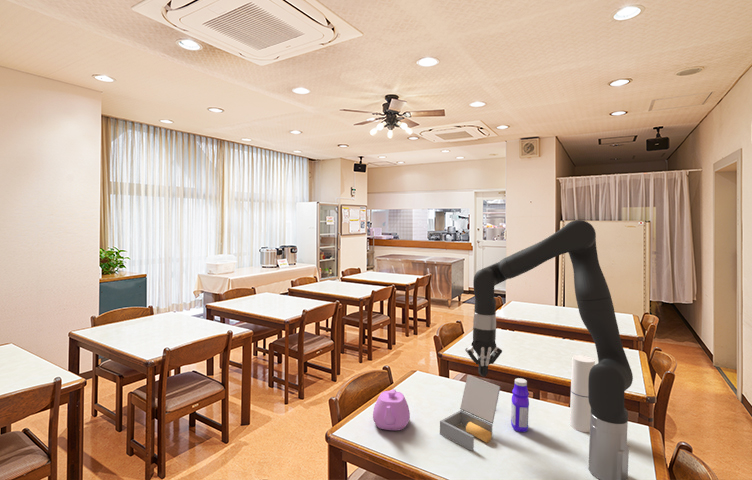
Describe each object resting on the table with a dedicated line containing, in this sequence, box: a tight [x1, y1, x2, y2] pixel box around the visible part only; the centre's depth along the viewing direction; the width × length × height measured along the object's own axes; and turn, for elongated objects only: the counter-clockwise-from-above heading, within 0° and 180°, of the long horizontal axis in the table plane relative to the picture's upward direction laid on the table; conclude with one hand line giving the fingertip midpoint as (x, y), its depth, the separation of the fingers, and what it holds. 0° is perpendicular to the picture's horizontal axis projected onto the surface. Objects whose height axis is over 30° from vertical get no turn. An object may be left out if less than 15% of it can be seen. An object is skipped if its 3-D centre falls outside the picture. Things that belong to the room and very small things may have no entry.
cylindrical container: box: [569, 354, 596, 433], centre depth 135 cm, size 7×7×25 cm
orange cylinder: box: [465, 422, 493, 444], centre depth 128 cm, size 8×4×4 cm
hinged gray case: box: [439, 409, 493, 452], centre depth 129 cm, size 13×12×4 cm
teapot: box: [372, 388, 411, 431], centre depth 135 cm, size 20×13×12 cm, turn 172°
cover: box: [459, 374, 501, 425], centre depth 134 cm, size 13×12×1 cm
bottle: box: [510, 377, 530, 433], centre depth 134 cm, size 7×6×17 cm
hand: (482, 375), depth 130 cm, fingers closed
